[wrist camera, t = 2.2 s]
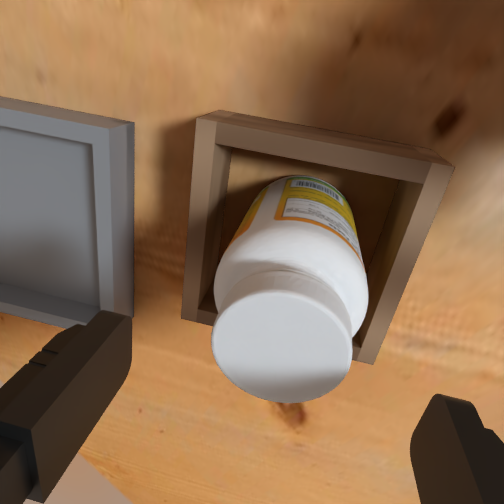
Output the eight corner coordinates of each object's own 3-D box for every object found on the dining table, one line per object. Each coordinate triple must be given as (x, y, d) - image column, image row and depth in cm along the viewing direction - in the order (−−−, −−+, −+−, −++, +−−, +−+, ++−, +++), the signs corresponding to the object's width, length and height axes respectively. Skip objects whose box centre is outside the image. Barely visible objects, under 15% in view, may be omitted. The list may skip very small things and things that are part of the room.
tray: (-84, 80, 19) (-135, 80, 17) (134, 122, 18) (108, 129, 16) (-35, 275, 24) (-70, 294, 22) (133, 316, 23) (114, 340, 21)
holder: (219, 109, 17) (196, 118, 14) (430, 149, 16) (455, 167, 13) (201, 282, 21) (180, 318, 18) (365, 321, 20) (373, 365, 17)
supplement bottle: (271, 282, 20) (232, 432, 12) (231, 195, 19) (152, 299, 10) (367, 254, 19) (403, 408, 10) (334, 156, 17) (345, 241, 8)
